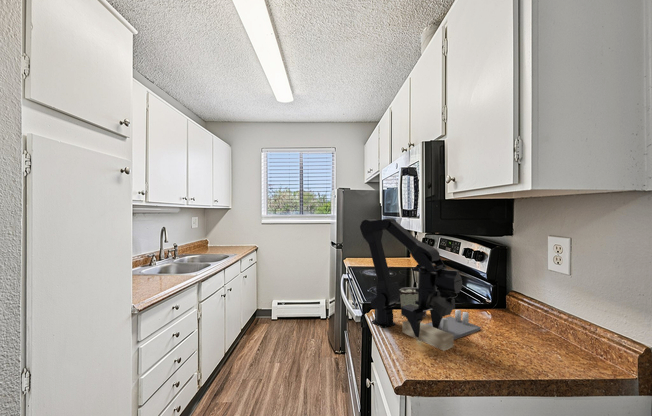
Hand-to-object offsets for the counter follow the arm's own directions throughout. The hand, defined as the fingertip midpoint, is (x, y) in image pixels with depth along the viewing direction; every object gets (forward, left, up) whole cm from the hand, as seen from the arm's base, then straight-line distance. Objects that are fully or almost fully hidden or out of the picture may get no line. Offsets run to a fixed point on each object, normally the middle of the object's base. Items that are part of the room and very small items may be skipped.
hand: (426, 333), depth 99 cm
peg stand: (-1, +15, -2) cm, 15 cm away
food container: (-19, +15, -2) cm, 24 cm away
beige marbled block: (0, 0, -2) cm, 2 cm away
